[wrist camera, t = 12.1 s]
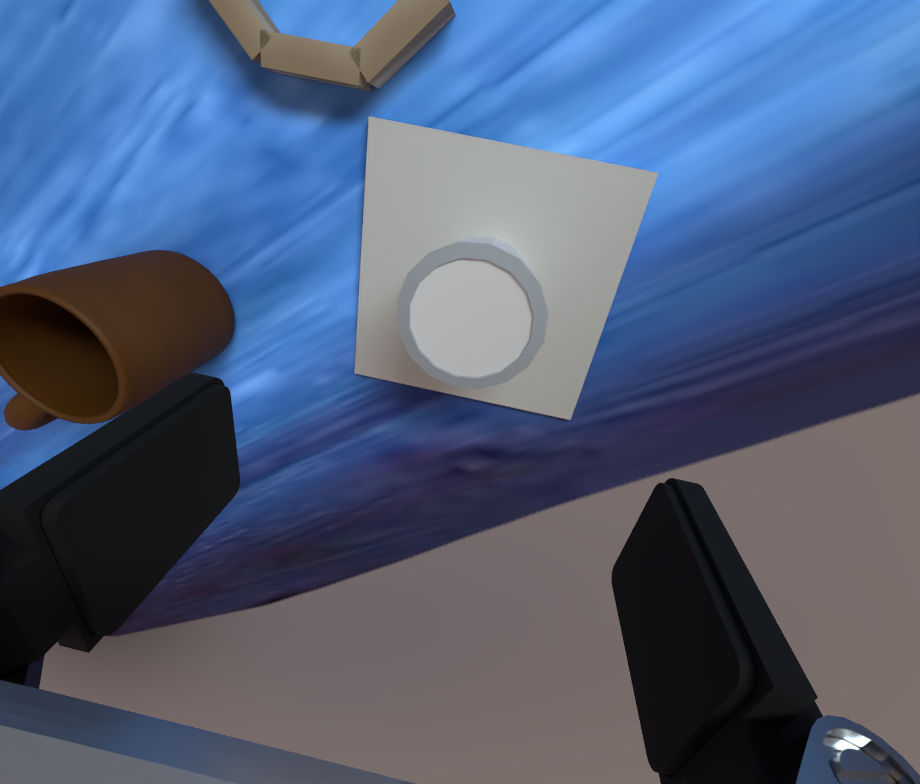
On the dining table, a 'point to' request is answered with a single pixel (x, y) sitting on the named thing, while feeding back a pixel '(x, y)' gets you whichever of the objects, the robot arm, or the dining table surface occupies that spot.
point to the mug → (107, 335)
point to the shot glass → (472, 313)
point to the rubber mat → (512, 219)
